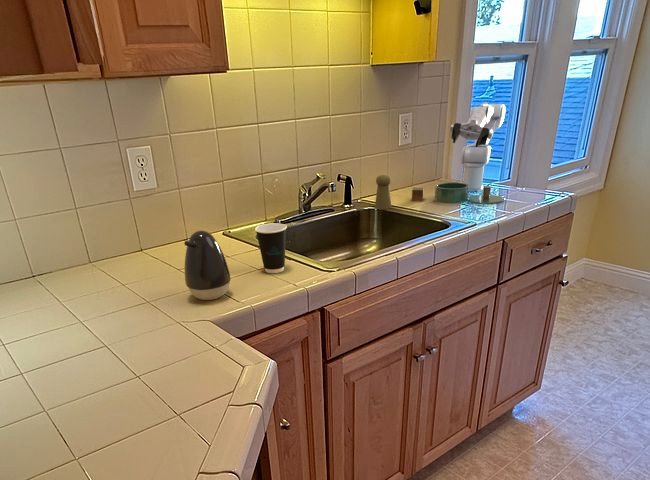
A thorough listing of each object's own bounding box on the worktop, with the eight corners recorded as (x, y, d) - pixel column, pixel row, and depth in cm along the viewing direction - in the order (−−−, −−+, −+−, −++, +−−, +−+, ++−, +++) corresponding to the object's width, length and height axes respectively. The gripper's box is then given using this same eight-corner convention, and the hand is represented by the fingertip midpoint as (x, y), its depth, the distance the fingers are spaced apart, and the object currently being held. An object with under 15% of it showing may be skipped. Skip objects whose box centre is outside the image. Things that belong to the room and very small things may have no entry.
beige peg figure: (371, 207, 181) (371, 175, 176) (385, 204, 183) (386, 172, 178) (380, 210, 176) (381, 177, 171) (394, 207, 178) (395, 175, 173)
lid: (467, 197, 185) (469, 183, 182) (503, 197, 181) (505, 183, 179) (466, 205, 175) (468, 190, 172) (504, 205, 171) (506, 190, 169)
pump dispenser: (178, 301, 114) (165, 235, 106) (206, 285, 122) (196, 223, 114) (214, 307, 110) (203, 239, 102) (241, 290, 117) (232, 226, 110)
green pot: (435, 197, 188) (436, 182, 185) (467, 197, 185) (469, 182, 182) (433, 204, 178) (434, 189, 176) (466, 205, 175) (468, 189, 172)
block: (412, 198, 189) (413, 187, 187) (423, 198, 188) (424, 187, 186) (411, 201, 185) (412, 189, 183) (422, 201, 184) (423, 189, 182)
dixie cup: (272, 277, 124) (267, 233, 118) (253, 270, 129) (248, 228, 124) (296, 269, 128) (293, 226, 123) (277, 262, 134) (273, 221, 128)
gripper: (456, 110, 177) (446, 126, 169) (498, 117, 173) (490, 134, 165) (452, 130, 182) (442, 146, 174) (492, 137, 178) (484, 154, 170)
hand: (465, 142), depth 170 cm, fingers open, 7 cm apart
